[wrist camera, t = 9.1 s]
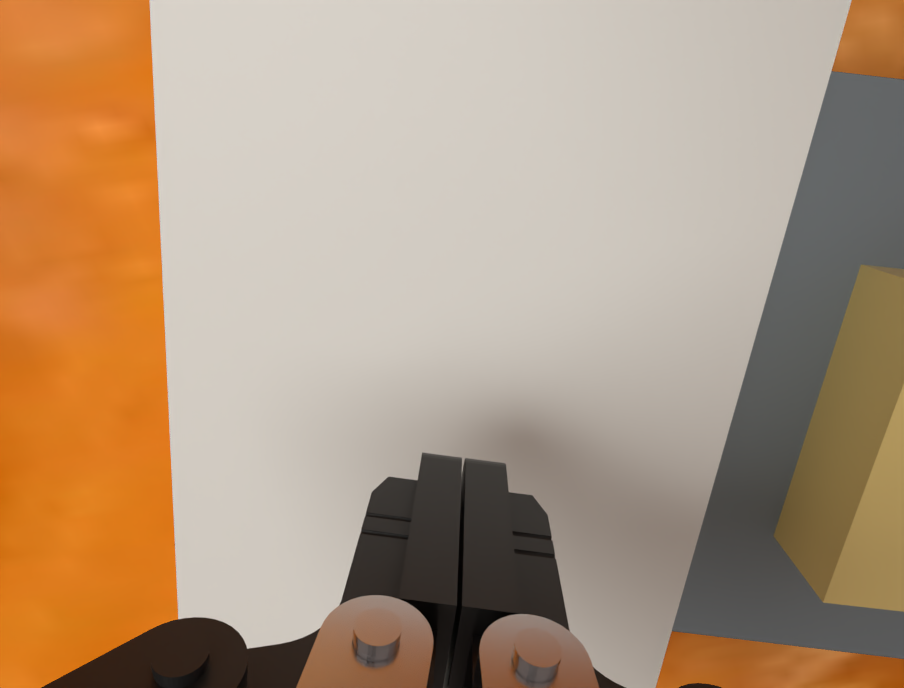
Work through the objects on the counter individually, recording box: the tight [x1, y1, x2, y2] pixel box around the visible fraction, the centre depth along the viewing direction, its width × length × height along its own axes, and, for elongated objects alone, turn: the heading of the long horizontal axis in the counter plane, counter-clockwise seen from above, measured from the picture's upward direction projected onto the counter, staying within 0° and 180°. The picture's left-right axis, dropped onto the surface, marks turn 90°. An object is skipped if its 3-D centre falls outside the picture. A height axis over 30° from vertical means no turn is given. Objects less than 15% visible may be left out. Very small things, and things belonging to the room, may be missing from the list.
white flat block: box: [150, 0, 852, 688], centre depth 17 cm, size 20×14×4 cm
